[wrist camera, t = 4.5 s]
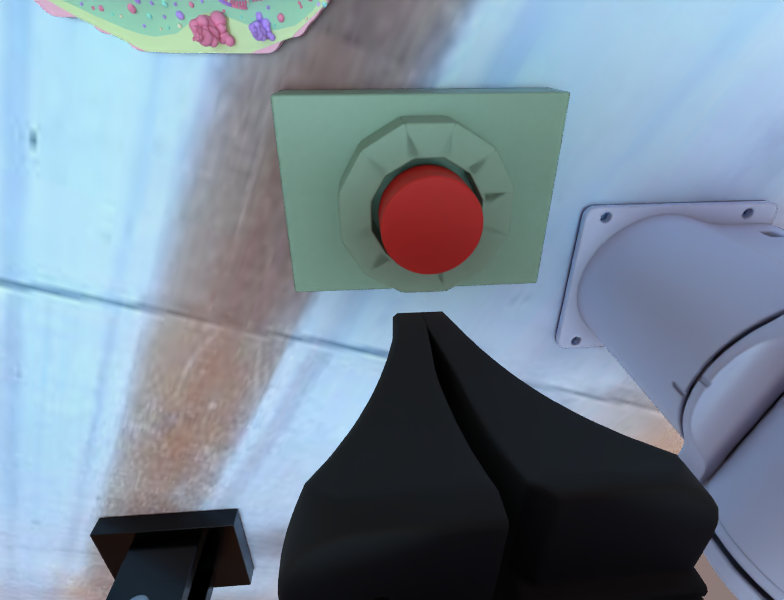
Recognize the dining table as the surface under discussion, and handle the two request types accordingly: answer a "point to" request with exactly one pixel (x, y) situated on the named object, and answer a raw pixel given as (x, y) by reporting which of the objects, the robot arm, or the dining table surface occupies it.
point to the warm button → (429, 219)
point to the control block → (406, 150)
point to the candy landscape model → (195, 22)
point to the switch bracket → (173, 554)
